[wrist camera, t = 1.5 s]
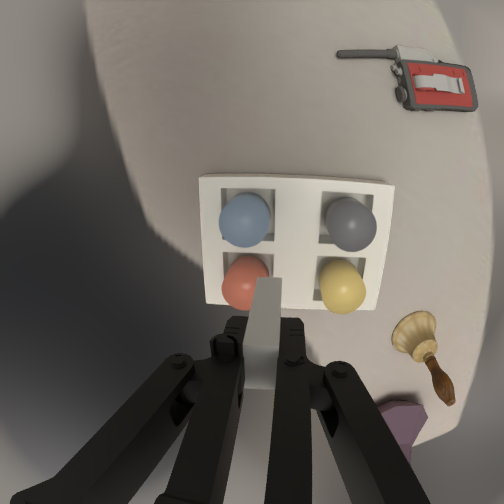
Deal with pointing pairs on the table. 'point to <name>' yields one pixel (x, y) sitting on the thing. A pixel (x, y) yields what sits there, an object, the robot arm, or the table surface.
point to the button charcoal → (350, 224)
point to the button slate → (245, 220)
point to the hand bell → (423, 349)
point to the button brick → (242, 281)
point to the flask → (404, 422)
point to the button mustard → (341, 287)
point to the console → (294, 232)
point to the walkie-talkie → (426, 79)
